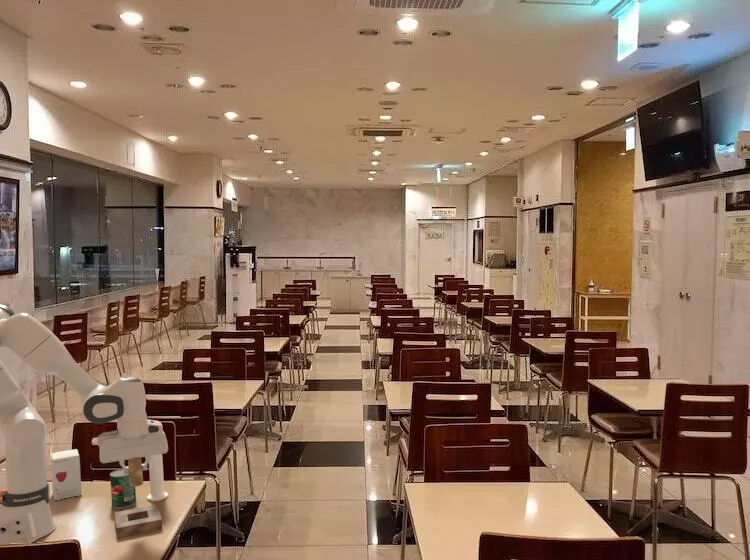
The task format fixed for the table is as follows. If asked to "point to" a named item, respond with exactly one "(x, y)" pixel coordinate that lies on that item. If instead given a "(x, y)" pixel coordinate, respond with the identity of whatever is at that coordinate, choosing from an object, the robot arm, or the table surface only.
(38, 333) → the robot arm
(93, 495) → the table surface
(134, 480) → the wick peg
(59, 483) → the supplement box
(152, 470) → the candle
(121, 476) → the canned tomato
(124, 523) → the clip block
